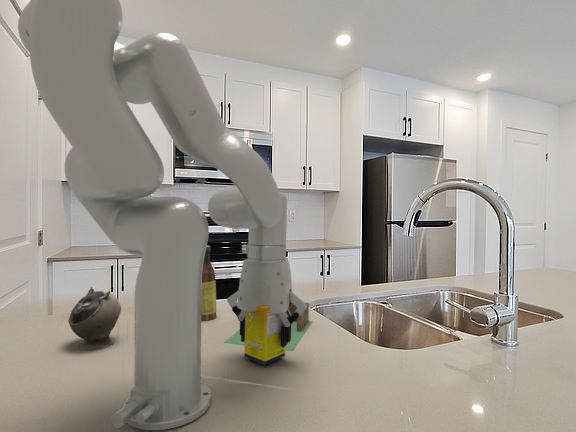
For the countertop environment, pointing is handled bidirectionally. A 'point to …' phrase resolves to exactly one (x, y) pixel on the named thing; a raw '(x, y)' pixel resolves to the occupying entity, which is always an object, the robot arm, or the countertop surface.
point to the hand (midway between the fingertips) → (264, 341)
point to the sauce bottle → (208, 289)
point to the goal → (301, 317)
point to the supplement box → (263, 336)
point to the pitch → (290, 346)
